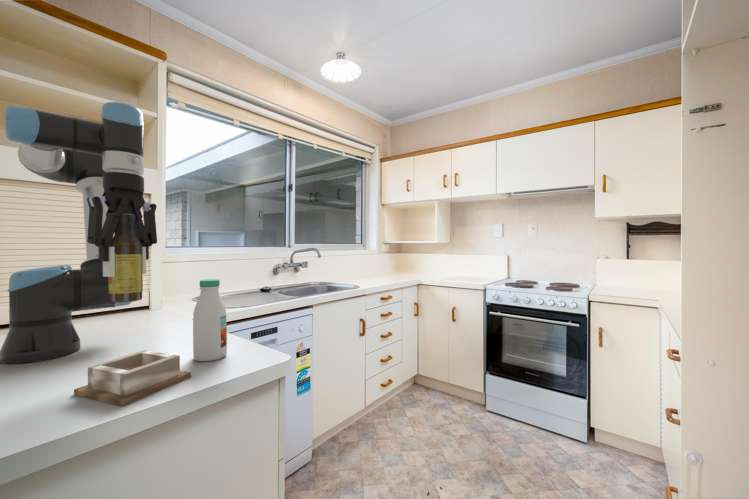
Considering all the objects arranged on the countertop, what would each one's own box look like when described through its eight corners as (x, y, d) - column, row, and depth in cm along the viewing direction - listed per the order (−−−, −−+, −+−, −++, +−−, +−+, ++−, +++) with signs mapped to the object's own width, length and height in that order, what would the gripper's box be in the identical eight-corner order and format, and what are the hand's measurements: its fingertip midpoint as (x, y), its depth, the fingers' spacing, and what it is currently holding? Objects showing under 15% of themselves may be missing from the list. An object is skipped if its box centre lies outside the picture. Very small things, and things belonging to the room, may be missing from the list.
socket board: (74, 394, 63) (73, 368, 63) (146, 368, 76) (146, 347, 76) (122, 406, 58) (122, 378, 58) (191, 376, 71) (190, 354, 71)
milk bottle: (213, 363, 80) (212, 281, 80) (186, 361, 81) (185, 281, 81) (233, 353, 87) (232, 278, 87) (207, 351, 89) (207, 278, 89)
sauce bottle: (117, 299, 77) (116, 215, 77) (147, 298, 79) (147, 215, 79) (102, 303, 71) (101, 212, 71) (135, 302, 73) (134, 212, 73)
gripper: (85, 162, 64) (86, 279, 65) (174, 180, 82) (175, 272, 83) (62, 166, 67) (63, 278, 67) (153, 183, 85) (154, 271, 85)
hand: (125, 275), depth 75 cm, fingers closed on sauce bottle, 6 cm apart
